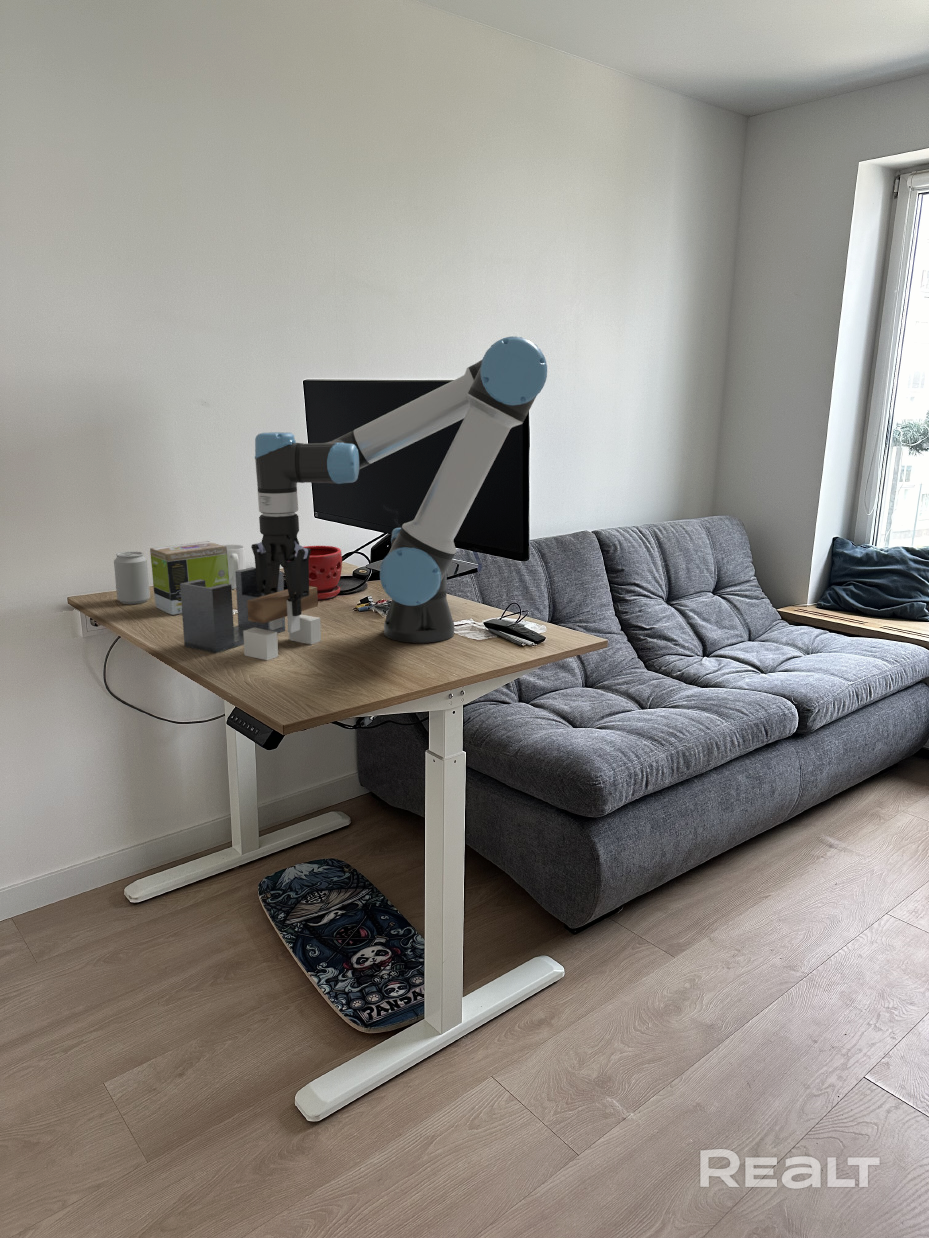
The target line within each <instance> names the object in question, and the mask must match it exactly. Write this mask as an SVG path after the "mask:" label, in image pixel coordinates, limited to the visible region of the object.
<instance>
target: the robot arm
mask: <svg viewBox="0 0 929 1238" xmlns="http://www.w3.org/2000/svg"><path fill="white" fill-rule="evenodd" d="M547 378H548V365H547V359H546V358H545V355H544V353H543V351H542V350H541V348H539V347H538V345H537V344H535V343H534V342H532V341H531V340H529V339H526V338H524V337H522V336H507V337H503V338H501V339H499V340H497V341H495V342H494V343H493V344H491V345H490V346H489V348H488V349H487V350H486V352H485V353H484V355H483V357H482V359H481V360H479V361H477V362H476V363H474V364H472V365H470V366H467V368H466V370H465V373H464V375H461V376H460V377H457V378H455V379H453V380H451V381H450V382H448V383H446V384H444V385H441V386H440V387H437V388H436V389H433V390H432V391H430V392H428V393H425V394H423V395H421V396H419V397H418V398H416V399H414V400H411V401H410V402H408V403H405V404H404V405H401V406H399V407H398V408H395V409H394V410H391V411H389V412H387V413H386V414H384V415H381V416H379V417H378V418H376V419H374V420H372V421H370V422H368V423H366V424H363V425H362V426H360V427H358V428H355V429H354V430H352V431H350V432H347V433H346V434H343V435H342V436H339V437H337V438H335V439H332V440H331V441H328V442H319V443H318V442H314V443H311V442H310V443H303V442H302V443H301V442H297V441H296V440H295V435H294V433H292V432H281V431H277V432H276V431H275V432H272V431H271V432H261V433H258V434H257V435H256V436H255V439H254V448H255V449H254V452H255V453H254V461H255V471H256V472H255V474H256V483H257V484H256V485H257V486H256V487H257V501H258V512H259V513H260V515H259V517H258V520H259V532H260V534H261V535H262V539H261V541H260V542H257V543H253V544H251V545H250V546H251V547H250V548H251V551H252V553H253V556H254V565H255V566H254V568H256V578H257V589H258V592H259V593H263V594H265V595H269V594H273V593H276V592H279V591H277V590H278V580H279V571H280V569H281V568H282V569H283V575H284V577H285V578H284V579H285V582H286V587H287V589H288V593H289V597H290V598H288V599H287V616H286V617H287V633H288V634H289V633H292V632H295V631H298V630H300V616H299V615H302V613H303V611H301V599H302V598H304V597H307V596H309V556H310V553H311V550H310V548H304V547H305V546H302V545H300V541H299V539H298V534H299V532H300V520H299V517H300V516H299V515H298V513H296V512H298V511H299V500H298V487H297V486H298V483H299V484H305V483H306V484H308V483H312V484H314V483H315V484H337V485H341V484H349V483H350V484H351V483H354V482H357V480H358V479H359V474H360V470H361V469H363V468H365V467H367V466H369V465H371V464H373V463H374V462H377V461H379V460H382V459H384V458H385V457H387V456H389V455H391V454H393V453H396V452H397V451H399V450H401V449H404V448H406V447H408V446H410V445H412V444H415V442H418V441H420V440H422V439H425V438H426V437H428V436H431V435H432V434H434V433H437V432H438V431H441V430H442V429H445V428H447V427H449V426H451V425H453V424H455V423H457V422H459V421H461V420H462V422H461V424H460V426H459V429H458V430H457V432H456V434H455V437H454V439H453V440H452V442H451V445H450V446H449V449H448V450H447V452H446V455H445V457H444V458H443V460H442V463H441V464H440V467H439V469H438V471H437V472H436V474H435V477H434V479H433V481H432V482H431V485H430V487H429V489H428V491H427V493H426V495H425V497H424V499H423V501H422V503H421V504H420V507H419V509H418V510H417V513H416V515H415V517H414V519H413V520H410V521H408V522H405V523H403V524H402V526H401V527H396V528H394V529H393V530H392V531H391V538H390V543H391V548H390V550H389V552H388V553H387V555H386V556H385V557H384V558H383V560H382V562H381V564H380V567H379V569H380V570H379V580H380V584H381V587H382V588H383V590H384V593H386V595H387V596H388V598H390V599H391V601H390V604H389V608H388V611H387V613H386V617H385V620H384V623H383V634H384V636H385V637H387V638H388V639H390V640H394V641H397V642H404V643H415V644H416V643H417V644H418V643H420V644H422V643H423V644H425V643H435V642H441V641H446V640H448V639H451V638H452V637H453V636H455V622H454V620H453V615H452V612H451V609H450V606H449V602H448V599H447V592H448V591H447V588H448V587H447V585H448V584H447V582H448V581H447V580H448V579H447V578H448V577H447V576H448V575H447V574H448V573H447V572H448V569H449V567H450V565H451V563H452V561H453V558H454V557H455V555H456V553H457V549H456V546H455V542H454V539H455V538H456V536H457V534H458V533H459V530H460V528H461V526H462V524H463V522H464V520H465V518H466V517H467V514H468V513H469V510H470V509H471V507H472V505H473V503H474V501H475V498H476V497H477V495H478V493H479V491H480V489H481V487H482V486H483V483H484V482H485V479H486V477H487V476H488V473H489V472H490V469H491V468H492V466H493V464H494V461H495V460H496V458H497V456H498V454H499V453H500V450H501V448H502V446H503V444H504V442H505V440H506V438H507V436H508V435H509V432H510V430H511V429H512V428H515V427H517V426H520V425H523V423H524V421H525V419H526V418H527V416H528V414H529V412H530V410H531V409H532V406H533V404H534V402H535V400H536V398H537V396H538V395H539V394H540V393H541V391H542V390H543V388H544V386H545V384H546V381H547ZM295 553H296V554H295ZM287 561H289V562H287ZM263 585H264V586H263ZM295 593H296V594H295ZM280 627H282V618H279V619H276V620H273V621H270V629H272V630H274V629H277V628H280Z"/></svg>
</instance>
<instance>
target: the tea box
mask: <svg viewBox="0 0 929 1238" xmlns="http://www.w3.org/2000/svg"><path fill="white" fill-rule="evenodd" d="M223 545H224V544H219V543H215V542H211V541H208V540H207V541H199V542H192V543H191V542H190V543H184V544H175V545H165V546H157V547H151V548H150V550H149V553H150V555H149V556H150V562H151V563H150V564H151V575H152V584H153V595H154V596H153V597H154V602H155V603H154V605H155V607H156V608H157V610H161V611H162V612H165V613H167V614H169V615H172V616H173V615H174V616H175V615H180V614H181V615H182V603H181V589H180V584H181V583H185V582H190V581H194V580H199V579H201V580H205V583H206V587H208V588H209V587H213V586H217V585H222V584H230V582H229V569H228V557H227V547H226V546H223Z"/></svg>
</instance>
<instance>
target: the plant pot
mask: <svg viewBox="0 0 929 1238" xmlns="http://www.w3.org/2000/svg"><path fill="white" fill-rule="evenodd" d="M332 546H333V545H307V546H305V545H304V546H303V547H304V548H310V550H311V553H310V556H309V586H312V587H317V596H318V601H319V600H320V601H321V600H330V599H332V598H334V597H336V596H338V594H339V593H340V592H341V587H340V586H339V581H340V579H341V575H342V571H343V570H342V568H343V556H342V550H341V548H339V547H336V546H333V547H332ZM295 554H296V553H295ZM334 589H335V590H334Z"/></svg>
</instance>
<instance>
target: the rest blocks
mask: <svg viewBox="0 0 929 1238" xmlns="http://www.w3.org/2000/svg"><path fill="white" fill-rule="evenodd" d="M299 616H300V630H298V631H295V632H292V633H289V632H288V641H293V642H297V643H302V644H307V645H314V644H316V643H320V642H321V641H322V636H321V635H322V633H321V631H322V629H321V617H318V616H311V615H306V614H301V615H299ZM243 636H244V644H243V649H244V651H243V652H244V656H246V657H251V658H254V659H259V660H263V661H264V660H265V661H270V660H272V659H275V658H278V657H279V648H278V647H279V646H278V633H277V632H275V631H269V630H264V629H259V628H251V629H248V630H244V631H243Z"/></svg>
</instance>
